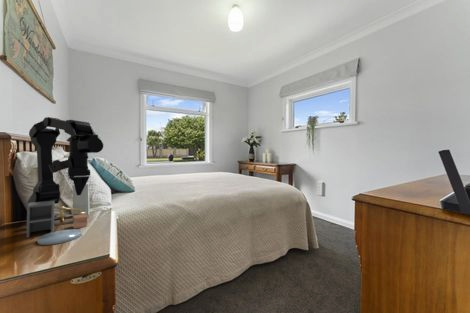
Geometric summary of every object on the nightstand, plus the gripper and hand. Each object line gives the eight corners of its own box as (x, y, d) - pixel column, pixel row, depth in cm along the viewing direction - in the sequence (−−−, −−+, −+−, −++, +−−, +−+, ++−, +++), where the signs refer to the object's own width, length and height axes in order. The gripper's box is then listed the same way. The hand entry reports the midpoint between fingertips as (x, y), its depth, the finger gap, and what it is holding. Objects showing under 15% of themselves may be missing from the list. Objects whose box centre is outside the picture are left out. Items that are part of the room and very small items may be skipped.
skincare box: (88, 217, 91) (89, 184, 92) (71, 219, 88) (72, 184, 88) (89, 213, 98) (90, 182, 99) (73, 214, 95) (74, 183, 95)
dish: (53, 233, 71) (53, 230, 71) (88, 231, 73) (88, 228, 73) (27, 246, 61) (27, 242, 61) (69, 243, 63) (69, 240, 63)
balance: (34, 228, 76) (34, 207, 76) (35, 225, 80) (36, 205, 80) (86, 220, 86) (86, 202, 86) (85, 218, 90) (85, 200, 90)
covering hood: (29, 217, 72) (29, 202, 73) (54, 214, 77) (54, 200, 77) (26, 221, 67) (27, 205, 67) (53, 218, 72) (53, 203, 72)
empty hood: (29, 232, 72) (29, 217, 72) (54, 228, 77) (54, 214, 77) (26, 237, 67) (26, 221, 67) (53, 233, 72) (53, 218, 72)
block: (73, 226, 79) (73, 215, 79) (86, 224, 82) (86, 214, 82) (73, 228, 76) (73, 218, 76) (86, 226, 79) (87, 216, 79)
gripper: (52, 153, 81) (51, 193, 81) (49, 151, 67) (48, 199, 66) (86, 154, 88) (86, 190, 88) (90, 152, 74) (90, 196, 73)
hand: (78, 193), depth 79 cm, fingers open, 9 cm apart
